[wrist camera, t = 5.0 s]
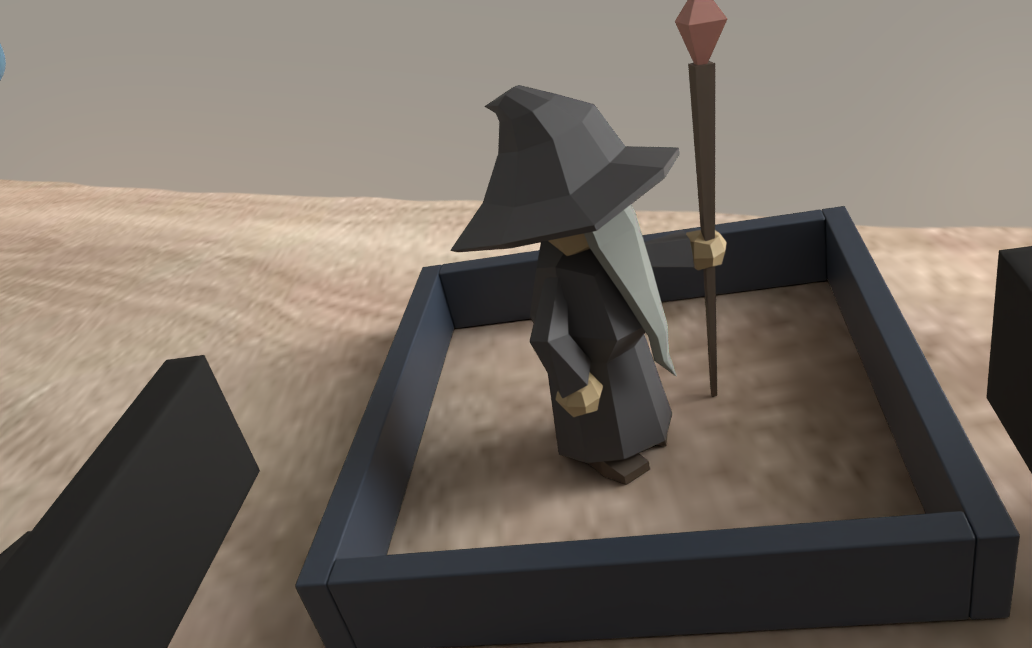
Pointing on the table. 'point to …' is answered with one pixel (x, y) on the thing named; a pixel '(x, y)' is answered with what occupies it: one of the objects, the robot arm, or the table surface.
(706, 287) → the wizard figurine
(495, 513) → the table surface
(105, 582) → the robot arm
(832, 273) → the dark grey square frame
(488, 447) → the table surface
